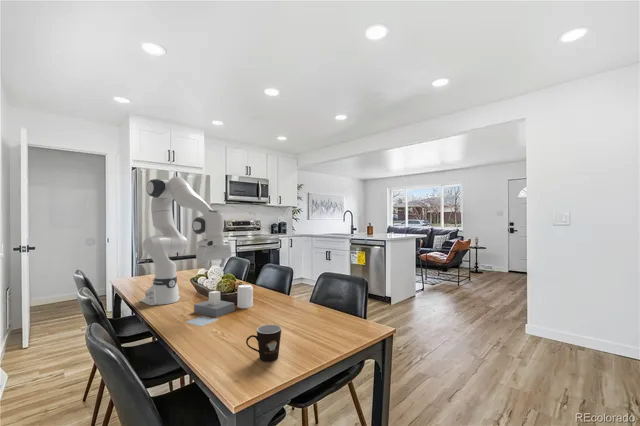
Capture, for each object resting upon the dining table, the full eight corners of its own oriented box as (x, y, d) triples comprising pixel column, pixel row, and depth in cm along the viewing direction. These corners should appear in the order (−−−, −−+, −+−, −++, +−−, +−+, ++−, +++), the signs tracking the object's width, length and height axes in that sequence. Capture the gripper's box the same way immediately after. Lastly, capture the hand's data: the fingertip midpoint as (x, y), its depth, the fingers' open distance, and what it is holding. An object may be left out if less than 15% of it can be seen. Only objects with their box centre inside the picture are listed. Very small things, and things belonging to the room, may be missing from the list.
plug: (208, 312, 152) (208, 292, 152) (214, 309, 156) (214, 290, 156) (214, 313, 150) (214, 293, 150) (220, 311, 154) (220, 291, 154)
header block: (193, 314, 152) (194, 304, 152) (212, 308, 162) (212, 299, 162) (216, 319, 144) (216, 309, 144) (234, 312, 154) (234, 302, 154)
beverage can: (254, 305, 166) (254, 284, 167) (249, 310, 158) (250, 287, 159) (240, 305, 167) (240, 284, 167) (235, 309, 159) (235, 287, 159)
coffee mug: (282, 351, 109) (282, 324, 109) (280, 363, 100) (280, 333, 100) (250, 352, 108) (250, 324, 109) (245, 363, 100) (245, 333, 100)
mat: (185, 324, 137) (185, 322, 137) (203, 317, 146) (203, 315, 146) (201, 328, 132) (201, 326, 132) (219, 321, 141) (219, 319, 141)
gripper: (225, 240, 164) (225, 265, 164) (194, 242, 146) (193, 270, 146) (234, 240, 161) (234, 266, 161) (203, 243, 143) (202, 271, 143)
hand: (214, 268), depth 153 cm, fingers open, 8 cm apart
